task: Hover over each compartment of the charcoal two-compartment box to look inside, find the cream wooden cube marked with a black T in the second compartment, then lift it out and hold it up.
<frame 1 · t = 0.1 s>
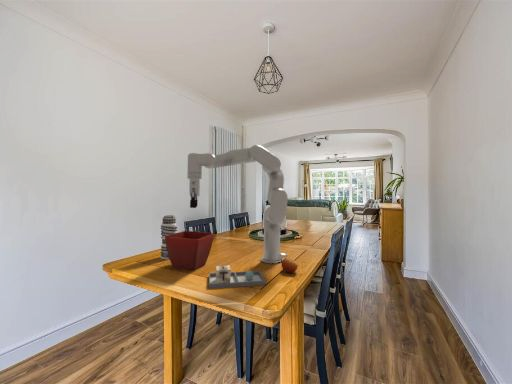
hand: (193, 207, 127), 31 cm above the table, tool pointing down, fingers open, 9 cm apart
fruit: (289, 272, 117), on the table
compartment box: (236, 281, 104), on the table
plant pot: (190, 266, 123), on the table
teal ball: (249, 279, 105), resting on compartment box
letter cube: (222, 281, 102), resting on compartment box
decorative candle: (168, 257, 138), on the table
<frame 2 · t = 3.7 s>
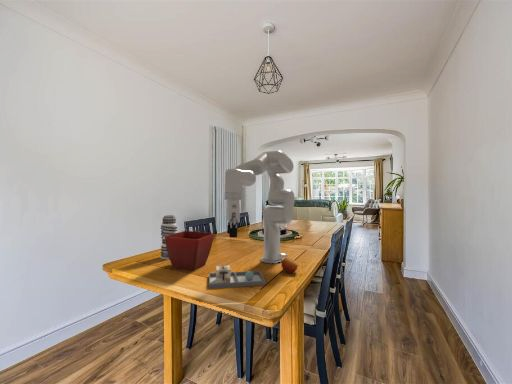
hand: (231, 235, 103), 21 cm above the table, tool pointing down, fingers open, 9 cm apart
nothing on the table moved.
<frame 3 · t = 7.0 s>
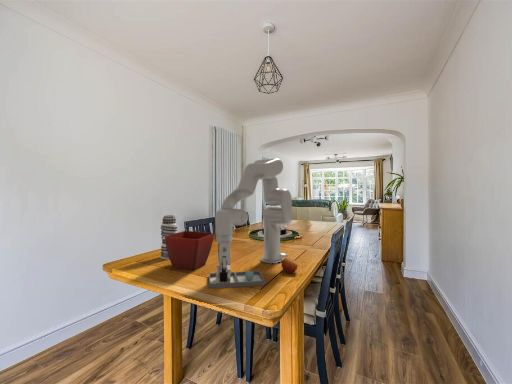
hand: (223, 278, 102), 2 cm above the table, tool pointing down, fingers closed on letter cube, 6 cm apart
letter cube: (222, 281, 102), resting on compartment box, touching gripper
everything else where it was.
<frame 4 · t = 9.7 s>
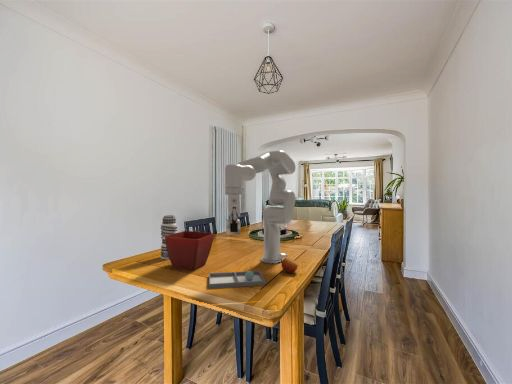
hand: (233, 230, 107), 22 cm above the table, tool pointing down, fingers closed on letter cube, 6 cm apart
letter cube: (233, 233, 107), point 21 cm above the table, touching gripper
everything else where it was.
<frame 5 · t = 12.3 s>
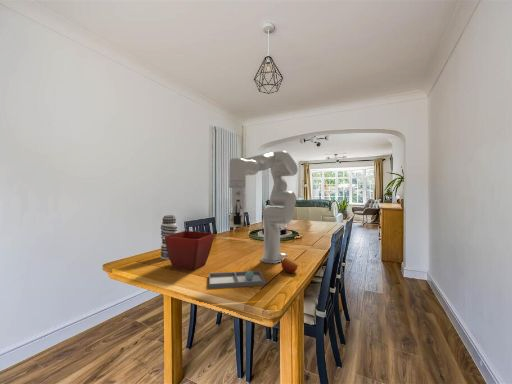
hand: (236, 223, 108), 26 cm above the table, tool pointing down, fingers closed on letter cube, 6 cm apart
letter cube: (236, 226, 108), point 24 cm above the table, touching gripper
everything else where it was.
at the end: the gripper is holding letter cube; letter cube point 24.1 cm above the table; letter cube tilted 0° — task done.
